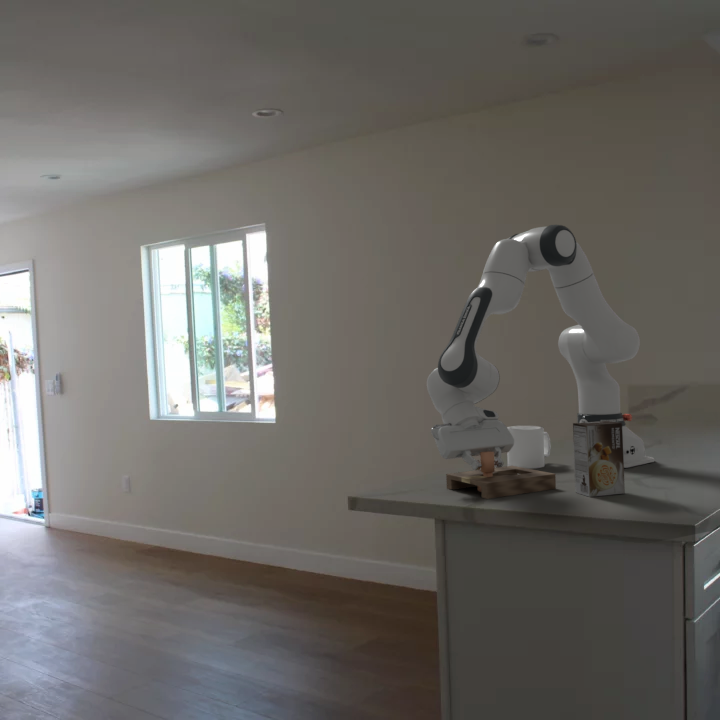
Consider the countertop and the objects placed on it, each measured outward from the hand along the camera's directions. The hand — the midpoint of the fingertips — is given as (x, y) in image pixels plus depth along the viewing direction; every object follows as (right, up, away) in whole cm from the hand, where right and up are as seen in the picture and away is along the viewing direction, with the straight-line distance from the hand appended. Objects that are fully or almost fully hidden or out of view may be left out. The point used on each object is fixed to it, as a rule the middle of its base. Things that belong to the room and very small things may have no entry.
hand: (489, 467), depth 188 cm
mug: (+17, -4, +36) cm, 40 cm away
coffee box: (+24, -5, -7) cm, 25 cm away
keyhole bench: (+3, -5, +2) cm, 7 cm away
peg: (0, -6, +1) cm, 6 cm away
